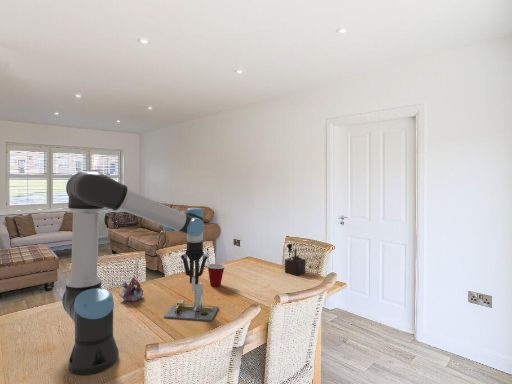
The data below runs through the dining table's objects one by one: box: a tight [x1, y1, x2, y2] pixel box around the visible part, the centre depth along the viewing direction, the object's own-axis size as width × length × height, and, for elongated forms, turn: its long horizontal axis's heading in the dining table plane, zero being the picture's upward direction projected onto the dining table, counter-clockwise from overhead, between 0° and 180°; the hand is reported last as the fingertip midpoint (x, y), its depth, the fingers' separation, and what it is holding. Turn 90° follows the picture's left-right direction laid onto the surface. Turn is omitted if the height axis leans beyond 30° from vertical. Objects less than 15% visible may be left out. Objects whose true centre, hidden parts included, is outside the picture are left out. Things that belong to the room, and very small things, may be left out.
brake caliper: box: [118, 277, 144, 302], centre depth 161 cm, size 11×11×12 cm
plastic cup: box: [206, 263, 226, 288], centre depth 184 cm, size 11×11×12 cm
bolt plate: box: [163, 303, 220, 322], centre depth 146 cm, size 14×22×1 cm, turn 84°
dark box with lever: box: [284, 243, 307, 277], centre depth 213 cm, size 16×11×18 cm
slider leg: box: [193, 281, 204, 313], centre depth 146 cm, size 9×3×12 cm, turn 174°
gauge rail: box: [175, 299, 213, 312], centre depth 147 cm, size 8×18×3 cm, turn 84°
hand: (194, 289), depth 149 cm, fingers closed
